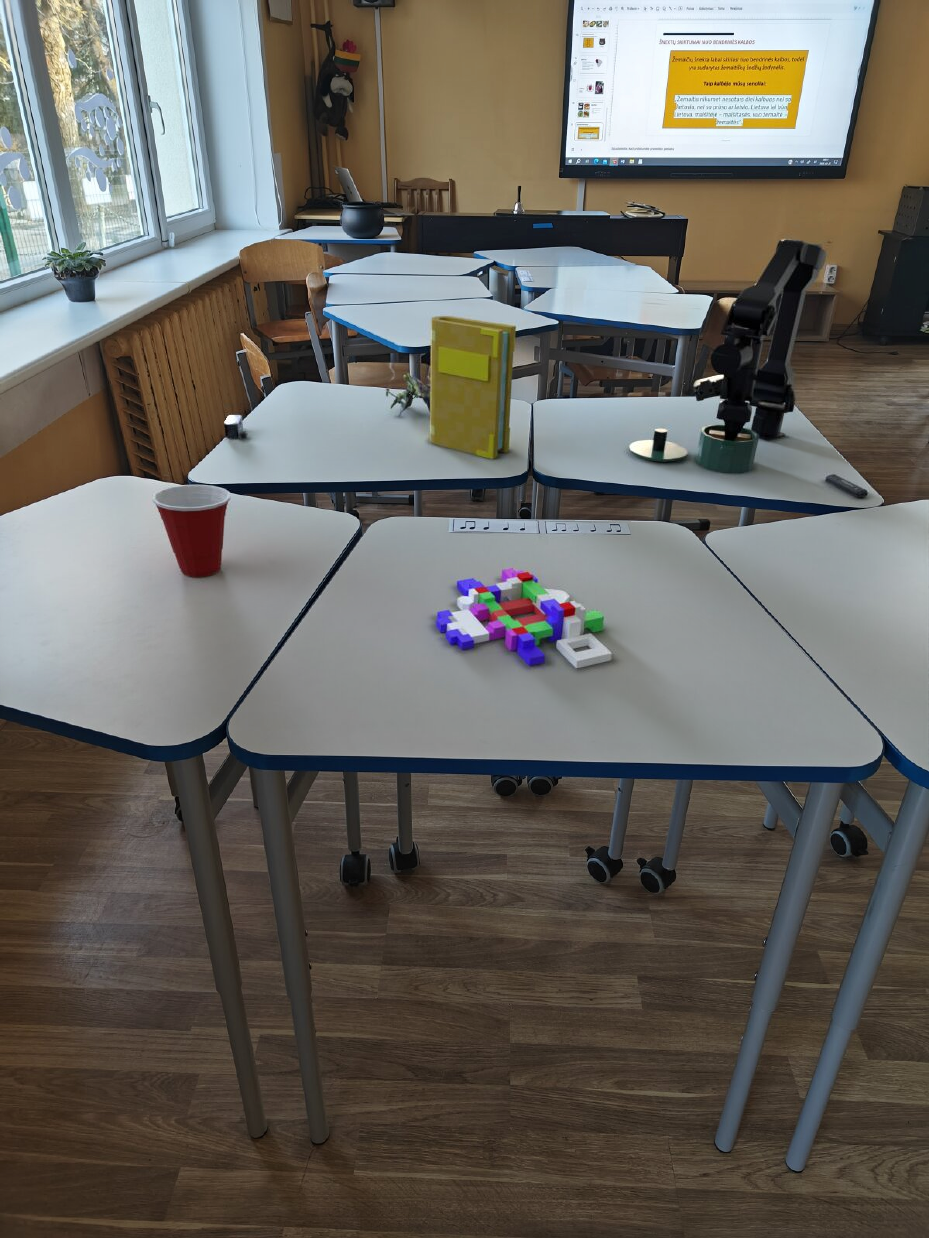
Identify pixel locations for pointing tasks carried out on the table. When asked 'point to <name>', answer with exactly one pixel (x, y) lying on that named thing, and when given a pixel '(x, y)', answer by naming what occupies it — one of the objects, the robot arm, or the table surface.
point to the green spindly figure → (412, 393)
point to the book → (471, 384)
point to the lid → (658, 448)
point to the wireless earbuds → (234, 427)
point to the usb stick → (846, 486)
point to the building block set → (524, 619)
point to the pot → (726, 451)
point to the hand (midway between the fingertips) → (728, 443)
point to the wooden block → (722, 435)
